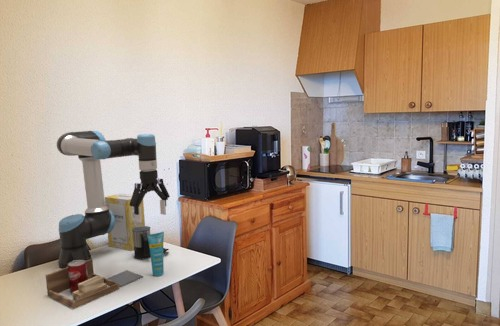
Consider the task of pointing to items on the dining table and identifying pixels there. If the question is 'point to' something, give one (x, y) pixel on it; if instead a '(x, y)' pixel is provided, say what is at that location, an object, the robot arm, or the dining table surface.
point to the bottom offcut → (79, 295)
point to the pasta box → (123, 221)
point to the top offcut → (90, 284)
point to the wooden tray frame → (60, 283)
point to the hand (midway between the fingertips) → (151, 217)
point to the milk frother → (142, 242)
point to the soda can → (77, 274)
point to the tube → (156, 252)
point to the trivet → (125, 278)
